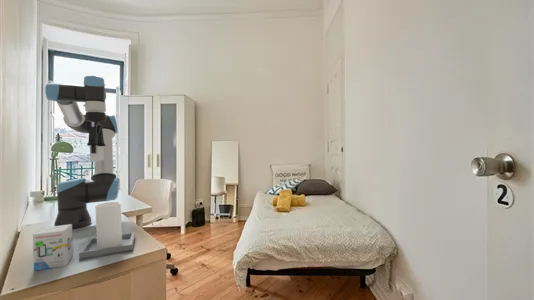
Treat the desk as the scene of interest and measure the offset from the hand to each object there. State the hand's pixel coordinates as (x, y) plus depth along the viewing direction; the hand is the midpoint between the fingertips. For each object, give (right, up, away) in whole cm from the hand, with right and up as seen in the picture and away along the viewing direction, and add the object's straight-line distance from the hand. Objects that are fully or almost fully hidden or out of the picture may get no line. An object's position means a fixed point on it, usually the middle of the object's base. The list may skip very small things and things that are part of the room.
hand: (97, 161), depth 114 cm
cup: (+14, -32, -15) cm, 38 cm away
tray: (+14, -32, -15) cm, 38 cm away
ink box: (+3, -33, -27) cm, 43 cm away
